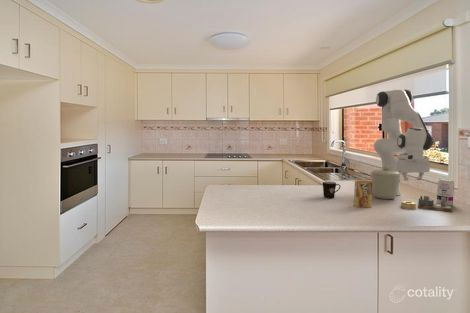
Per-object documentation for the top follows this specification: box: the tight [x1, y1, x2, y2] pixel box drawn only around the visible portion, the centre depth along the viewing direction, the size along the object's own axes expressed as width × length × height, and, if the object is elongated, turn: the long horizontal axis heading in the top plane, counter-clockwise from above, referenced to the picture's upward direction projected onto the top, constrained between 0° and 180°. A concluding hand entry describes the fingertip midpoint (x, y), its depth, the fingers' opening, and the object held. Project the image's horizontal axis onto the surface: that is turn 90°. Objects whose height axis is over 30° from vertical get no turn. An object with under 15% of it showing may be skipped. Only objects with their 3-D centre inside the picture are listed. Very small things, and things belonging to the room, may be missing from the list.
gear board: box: [417, 195, 453, 213], centre depth 174 cm, size 16×10×6 cm, turn 60°
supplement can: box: [436, 178, 455, 207], centre depth 183 cm, size 8×8×15 cm
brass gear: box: [400, 200, 417, 210], centre depth 175 cm, size 7×7×3 cm
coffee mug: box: [322, 180, 341, 200], centre depth 198 cm, size 12×9×10 cm
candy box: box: [353, 179, 373, 208], centre depth 176 cm, size 9×4×15 cm, turn 86°
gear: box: [418, 195, 435, 206], centre depth 176 cm, size 7×7×5 cm
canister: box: [370, 166, 402, 200], centre depth 199 cm, size 18×18×21 cm
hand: (412, 180), depth 172 cm, fingers open, 8 cm apart
